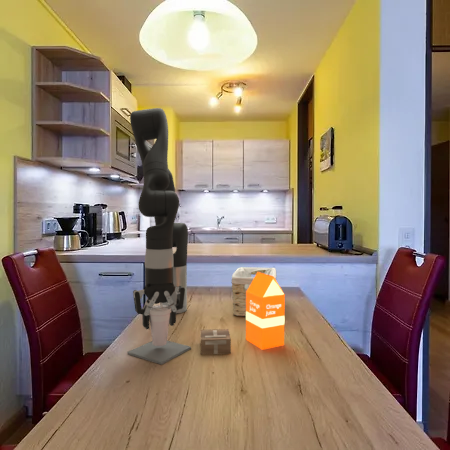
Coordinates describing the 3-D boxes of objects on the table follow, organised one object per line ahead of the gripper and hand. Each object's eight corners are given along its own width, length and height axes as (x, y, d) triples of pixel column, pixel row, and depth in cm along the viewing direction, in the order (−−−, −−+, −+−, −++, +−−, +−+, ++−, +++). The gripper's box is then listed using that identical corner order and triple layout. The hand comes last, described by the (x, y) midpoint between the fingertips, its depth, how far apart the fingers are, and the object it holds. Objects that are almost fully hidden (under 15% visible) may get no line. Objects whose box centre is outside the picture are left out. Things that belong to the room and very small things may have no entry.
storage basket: (237, 300, 153) (237, 265, 152) (276, 302, 151) (276, 267, 150) (230, 317, 129) (230, 276, 129) (275, 319, 127) (276, 278, 126)
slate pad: (127, 354, 96) (127, 351, 96) (158, 340, 107) (158, 338, 107) (161, 364, 90) (161, 362, 90) (191, 348, 100) (191, 346, 100)
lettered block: (200, 343, 105) (200, 328, 105) (228, 342, 105) (228, 328, 105) (200, 354, 97) (200, 339, 96) (230, 354, 97) (230, 338, 97)
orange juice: (261, 350, 100) (262, 277, 99) (245, 339, 108) (245, 272, 107) (284, 345, 103) (285, 275, 102) (267, 335, 111) (267, 270, 110)
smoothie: (166, 348, 95) (166, 295, 94) (143, 346, 96) (143, 294, 95) (174, 340, 101) (174, 290, 100) (153, 338, 102) (152, 289, 101)
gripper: (135, 269, 91) (135, 335, 92) (189, 265, 97) (189, 327, 98) (129, 264, 98) (129, 326, 98) (180, 261, 104) (180, 319, 105)
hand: (159, 326), depth 98 cm, fingers closed on smoothie, 6 cm apart
